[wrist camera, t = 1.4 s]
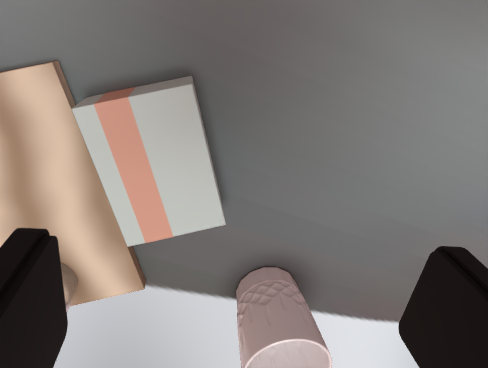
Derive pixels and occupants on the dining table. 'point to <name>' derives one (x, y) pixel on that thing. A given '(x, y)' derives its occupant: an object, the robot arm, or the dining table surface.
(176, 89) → the carton
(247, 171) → the dining table surface
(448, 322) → the robot arm
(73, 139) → the wooden board
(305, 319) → the pink cup
